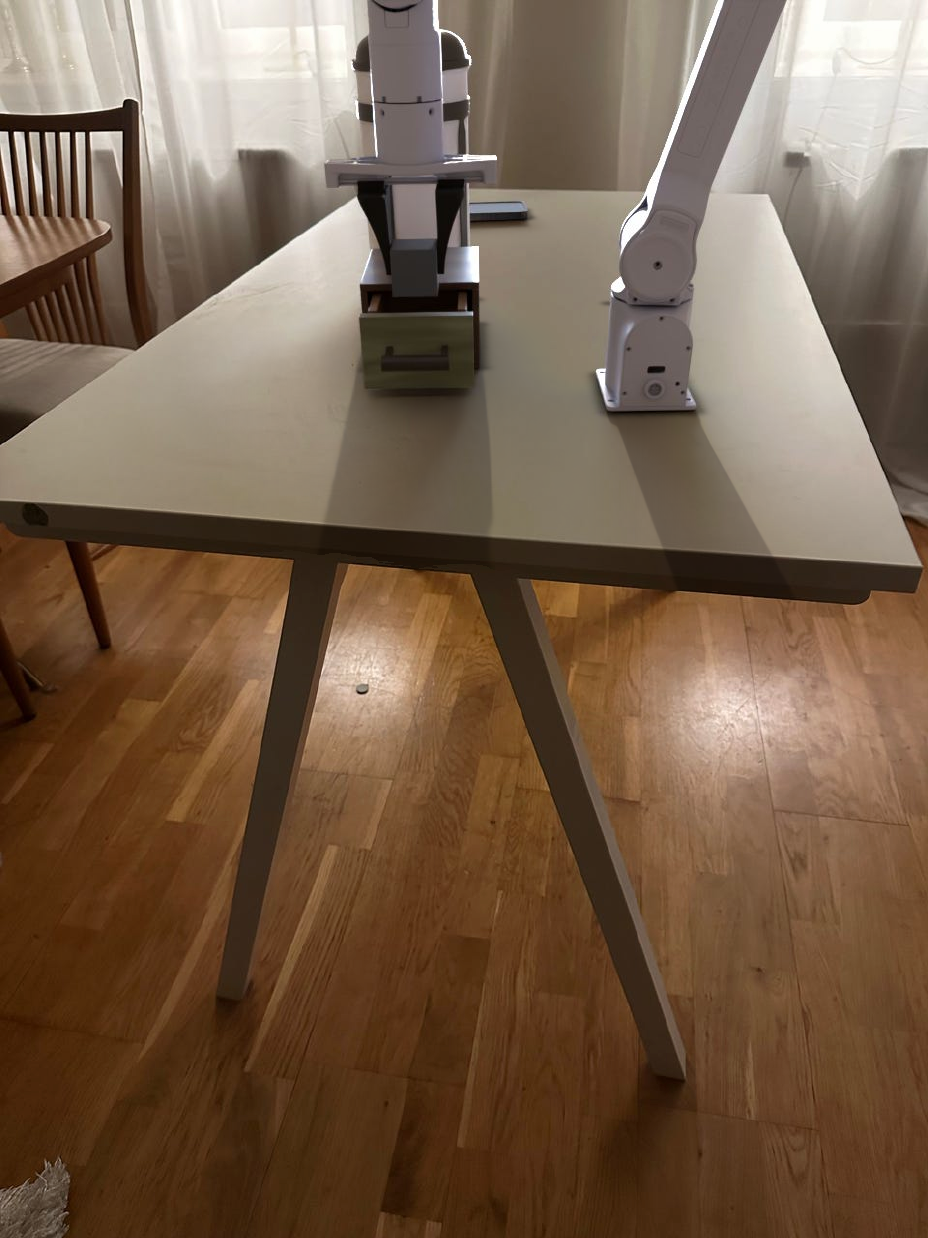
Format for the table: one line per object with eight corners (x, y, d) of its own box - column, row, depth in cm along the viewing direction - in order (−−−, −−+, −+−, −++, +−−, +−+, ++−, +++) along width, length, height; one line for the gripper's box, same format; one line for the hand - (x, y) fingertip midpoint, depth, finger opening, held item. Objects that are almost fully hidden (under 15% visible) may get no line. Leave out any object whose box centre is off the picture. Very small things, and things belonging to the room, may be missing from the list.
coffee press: (510, 285, 114) (512, -5, 96) (435, 319, 103) (423, 1, 86) (400, 266, 122) (384, -4, 104) (321, 297, 111) (288, 2, 94)
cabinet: (480, 368, 91) (479, 281, 86) (366, 369, 91) (359, 284, 86) (479, 324, 102) (478, 246, 97) (378, 326, 102) (372, 248, 97)
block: (437, 296, 80) (435, 249, 78) (392, 297, 81) (389, 250, 78) (439, 283, 84) (437, 237, 81) (395, 284, 84) (393, 238, 81)
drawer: (474, 405, 81) (472, 331, 77) (360, 407, 81) (353, 333, 77) (473, 342, 94) (472, 276, 91) (376, 344, 95) (371, 278, 91)
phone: (528, 211, 142) (432, 213, 142) (528, 218, 143) (433, 221, 142) (523, 200, 148) (432, 203, 148) (523, 207, 149) (432, 210, 149)
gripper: (495, 91, 77) (495, 258, 85) (325, 95, 77) (341, 261, 85) (497, 102, 71) (497, 279, 79) (314, 106, 72) (332, 282, 80)
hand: (416, 271), depth 82 cm, fingers closed on block, 4 cm apart
